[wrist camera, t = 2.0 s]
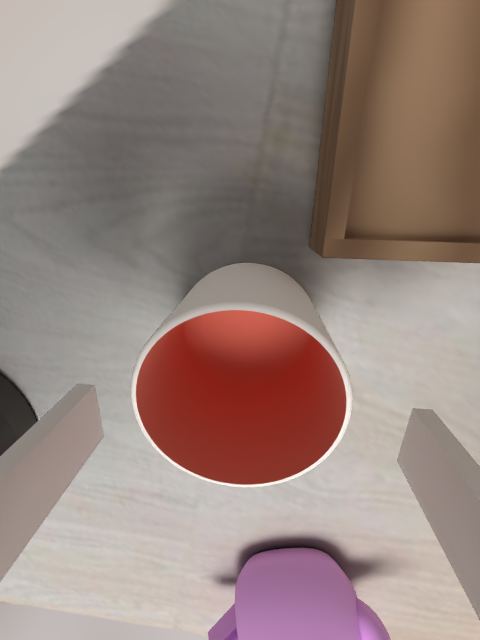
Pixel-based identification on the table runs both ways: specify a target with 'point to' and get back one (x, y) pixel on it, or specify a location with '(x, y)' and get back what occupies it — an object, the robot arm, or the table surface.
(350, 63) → the wooden tray
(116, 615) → the table surface
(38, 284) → the table surface
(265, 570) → the teapot
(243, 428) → the cup
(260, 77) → the table surface
